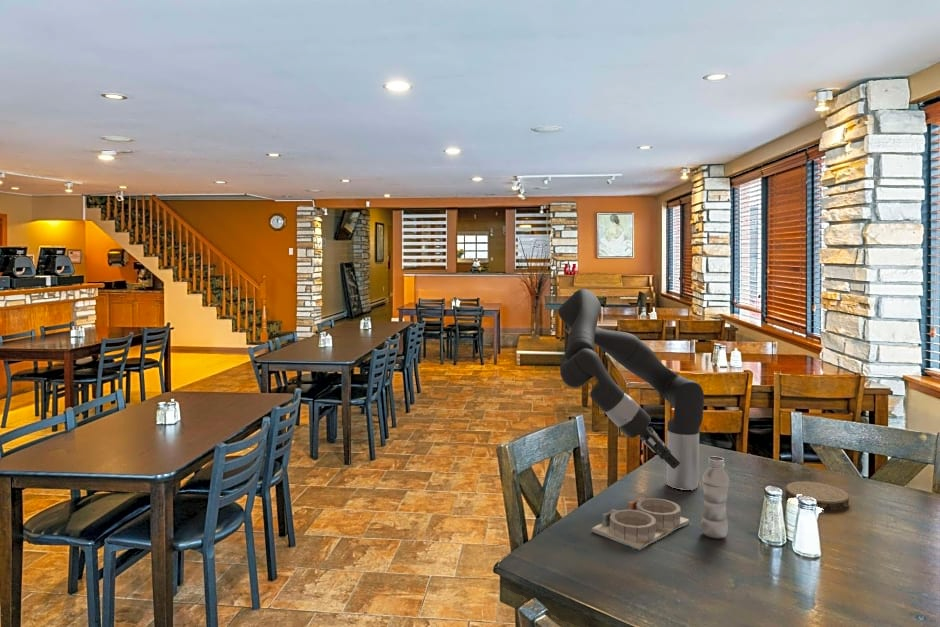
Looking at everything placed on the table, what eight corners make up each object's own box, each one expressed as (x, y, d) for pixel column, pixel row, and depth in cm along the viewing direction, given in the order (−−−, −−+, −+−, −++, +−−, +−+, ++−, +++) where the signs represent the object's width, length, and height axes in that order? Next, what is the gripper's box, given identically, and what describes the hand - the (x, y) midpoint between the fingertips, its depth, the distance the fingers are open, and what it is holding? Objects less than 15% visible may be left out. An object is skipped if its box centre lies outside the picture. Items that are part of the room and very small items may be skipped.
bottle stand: (643, 508, 179) (643, 492, 178) (689, 523, 168) (689, 506, 168) (591, 532, 164) (592, 514, 163) (638, 550, 153) (639, 532, 153)
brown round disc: (861, 506, 180) (861, 496, 180) (822, 516, 174) (823, 505, 173) (810, 487, 195) (810, 478, 194) (773, 496, 188) (773, 486, 188)
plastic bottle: (723, 530, 164) (725, 454, 162) (731, 542, 157) (733, 463, 156) (697, 529, 165) (699, 454, 163) (704, 541, 158) (706, 462, 156)
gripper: (611, 417, 167) (655, 461, 167) (621, 433, 153) (668, 480, 153) (632, 397, 166) (676, 441, 167) (644, 411, 152) (691, 459, 152)
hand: (672, 460), depth 160 cm, fingers open, 8 cm apart
